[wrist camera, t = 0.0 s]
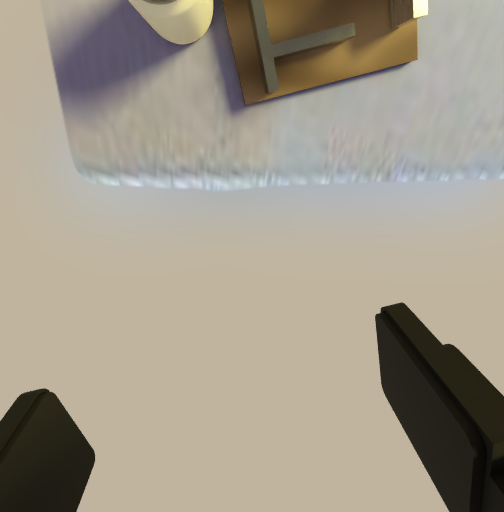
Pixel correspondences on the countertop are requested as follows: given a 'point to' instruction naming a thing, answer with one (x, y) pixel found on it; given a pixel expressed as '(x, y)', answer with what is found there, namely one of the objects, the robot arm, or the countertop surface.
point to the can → (177, 18)
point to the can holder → (288, 43)
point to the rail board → (324, 59)
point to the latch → (407, 11)
